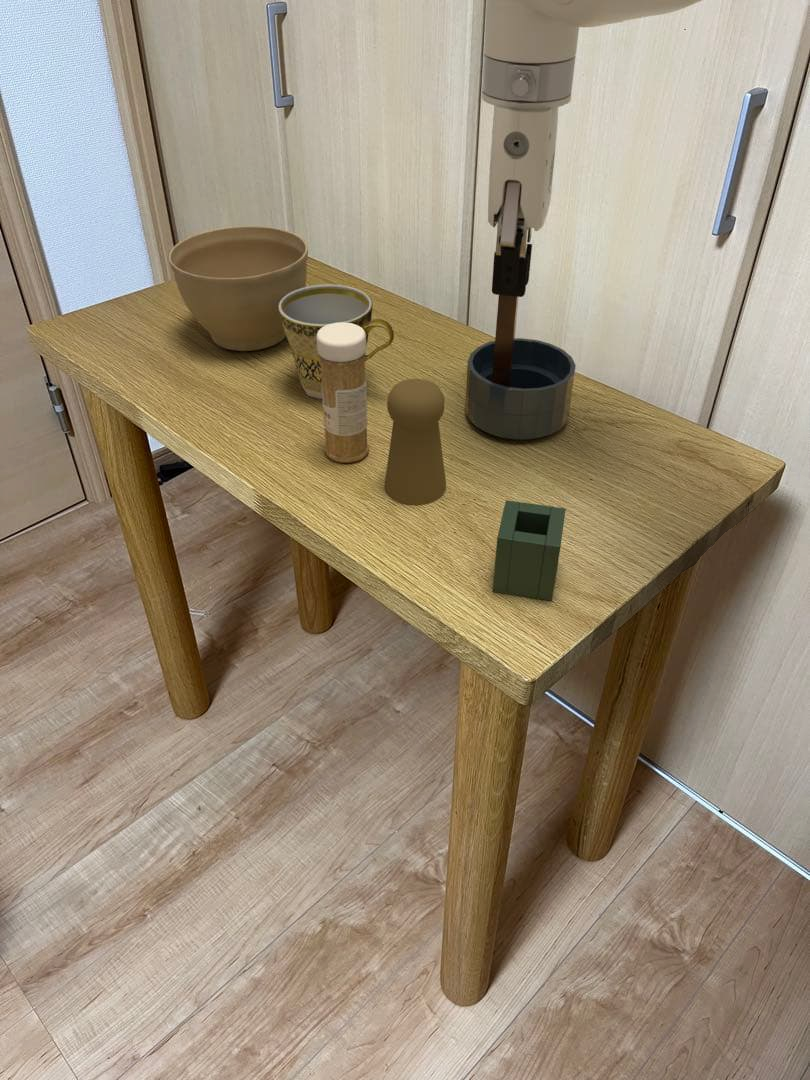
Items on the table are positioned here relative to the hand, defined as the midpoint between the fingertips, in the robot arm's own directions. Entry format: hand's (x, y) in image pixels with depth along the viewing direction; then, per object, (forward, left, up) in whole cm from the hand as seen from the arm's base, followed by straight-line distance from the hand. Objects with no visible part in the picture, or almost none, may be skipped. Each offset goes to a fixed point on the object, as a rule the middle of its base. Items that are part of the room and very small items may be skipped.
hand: (510, 287), depth 83 cm
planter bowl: (+33, -11, -15) cm, 38 cm away
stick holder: (-6, +25, -15) cm, 30 cm away
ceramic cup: (+18, -1, -15) cm, 23 cm away
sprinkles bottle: (+14, +11, -15) cm, 23 cm away
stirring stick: (0, 0, -13) cm, 13 cm away
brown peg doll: (+6, +15, -15) cm, 22 cm away
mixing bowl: (-2, 0, -15) cm, 15 cm away
